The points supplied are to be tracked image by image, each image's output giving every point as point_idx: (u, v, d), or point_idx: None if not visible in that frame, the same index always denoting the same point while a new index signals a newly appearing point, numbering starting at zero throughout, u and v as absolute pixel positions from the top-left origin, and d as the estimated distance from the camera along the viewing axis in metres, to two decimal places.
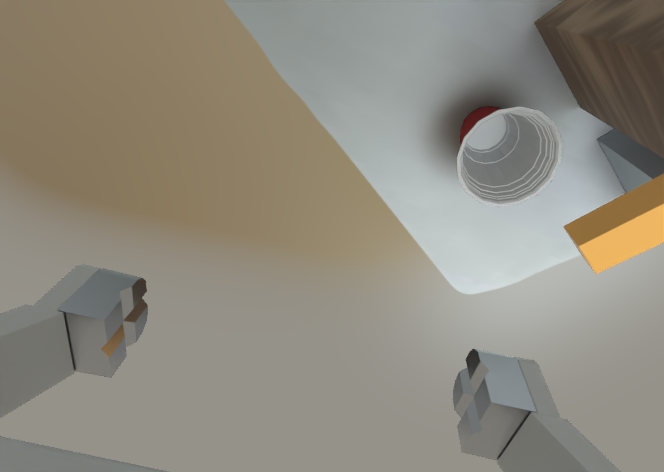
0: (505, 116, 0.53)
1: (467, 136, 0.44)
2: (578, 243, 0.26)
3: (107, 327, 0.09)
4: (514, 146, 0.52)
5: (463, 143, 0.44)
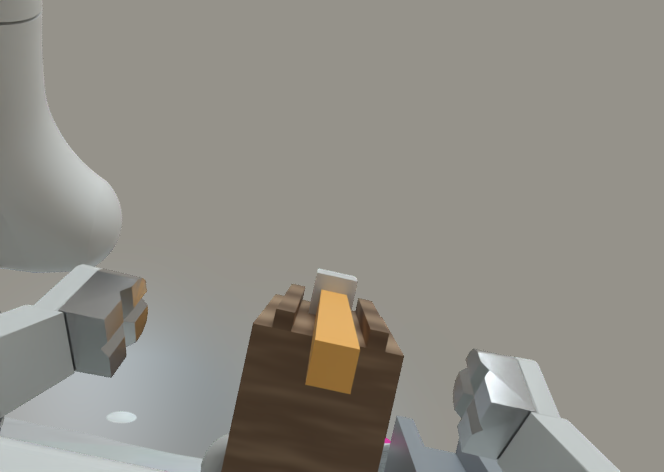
0: None
1: None
2: (314, 343, 0.23)
3: (107, 327, 0.09)
4: None
5: None
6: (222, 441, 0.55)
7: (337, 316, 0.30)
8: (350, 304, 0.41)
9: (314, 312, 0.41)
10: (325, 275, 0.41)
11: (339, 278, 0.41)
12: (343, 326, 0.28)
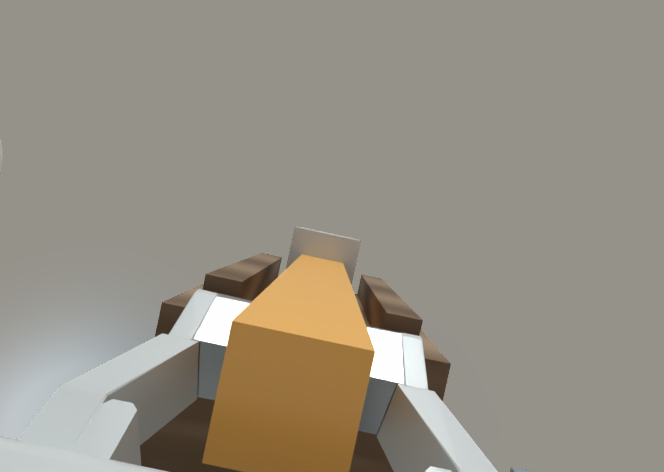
0: None
1: None
2: (230, 333, 0.07)
3: None
4: None
5: None
6: None
7: (320, 282, 0.14)
8: (349, 278, 0.25)
9: None
10: (308, 231, 0.25)
11: (331, 236, 0.25)
12: (330, 297, 0.12)
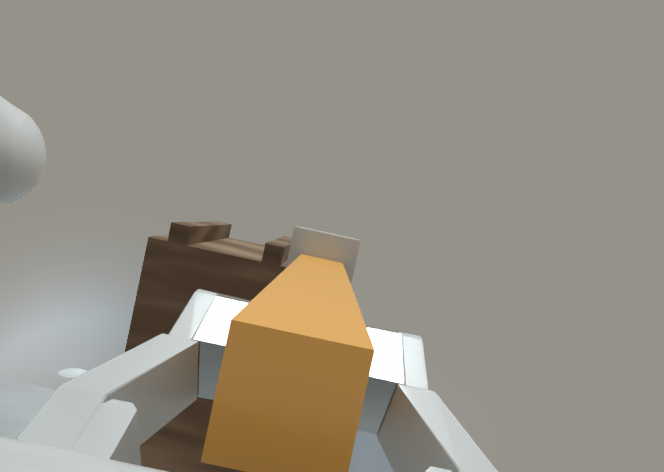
0: None
1: None
2: (229, 332, 0.07)
3: None
4: None
5: None
6: None
7: (319, 281, 0.14)
8: (348, 278, 0.25)
9: None
10: (307, 231, 0.25)
11: (330, 236, 0.25)
12: (330, 297, 0.12)
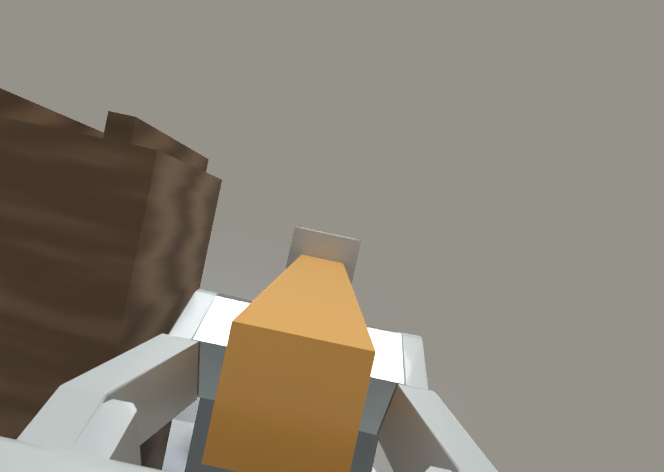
0: None
1: None
2: (229, 333, 0.07)
3: None
4: None
5: None
6: None
7: (320, 282, 0.14)
8: (349, 278, 0.25)
9: None
10: (308, 231, 0.25)
11: (331, 236, 0.25)
12: (330, 297, 0.12)
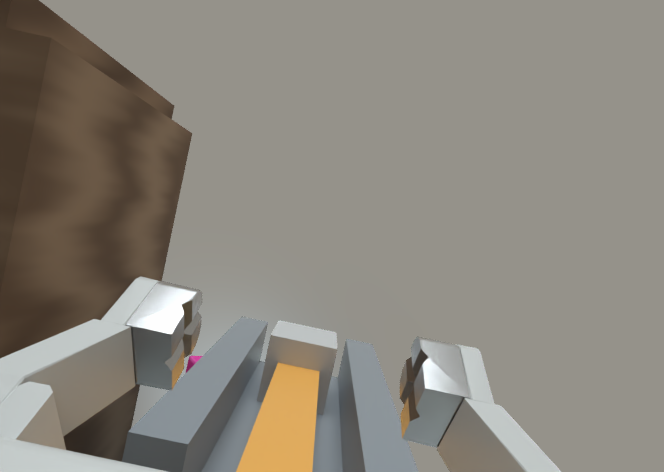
0: None
1: None
2: None
3: (173, 341, 0.09)
4: None
5: None
6: None
7: None
8: (325, 386, 0.25)
9: None
10: (284, 339, 0.25)
11: (307, 344, 0.25)
12: None
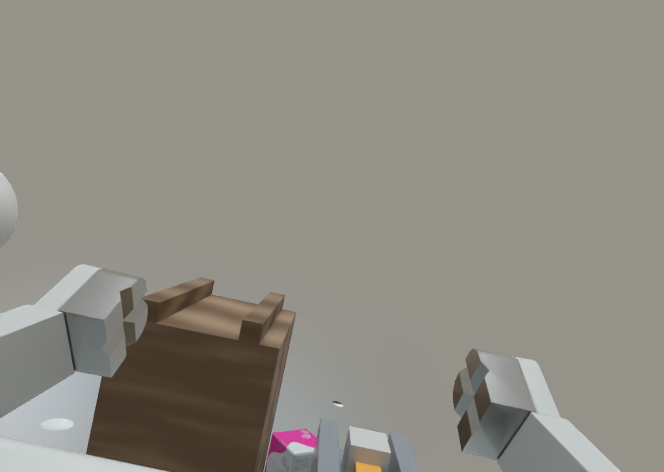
0: None
1: None
2: None
3: (107, 327, 0.09)
4: None
5: None
6: None
7: None
8: None
9: None
10: (359, 447, 0.42)
11: (373, 450, 0.42)
12: None
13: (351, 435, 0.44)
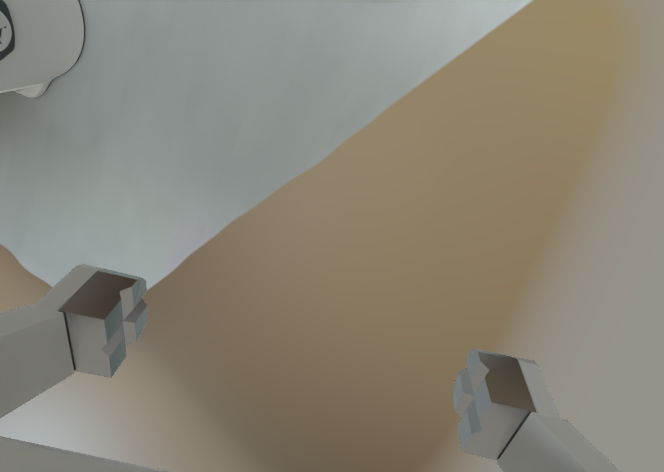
0: None
1: None
2: None
3: (107, 327, 0.09)
4: None
5: None
6: None
7: None
8: None
9: None
10: None
11: None
12: None
13: None
